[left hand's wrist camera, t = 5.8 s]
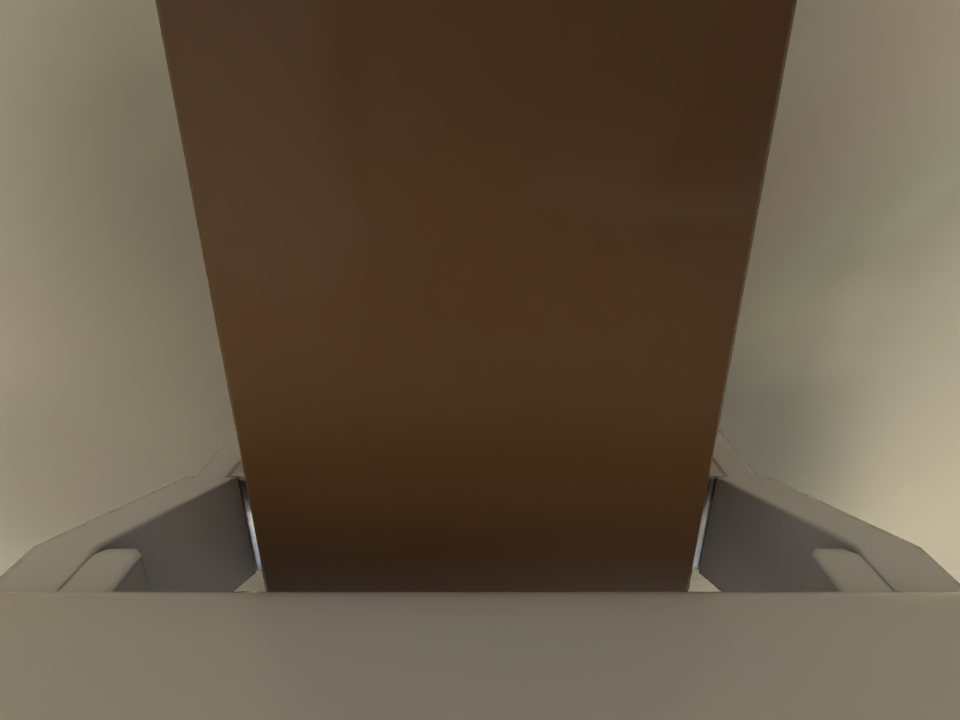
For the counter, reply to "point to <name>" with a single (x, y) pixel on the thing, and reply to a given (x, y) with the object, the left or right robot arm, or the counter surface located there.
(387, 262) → the beam
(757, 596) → the left robot arm
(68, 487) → the counter surface
